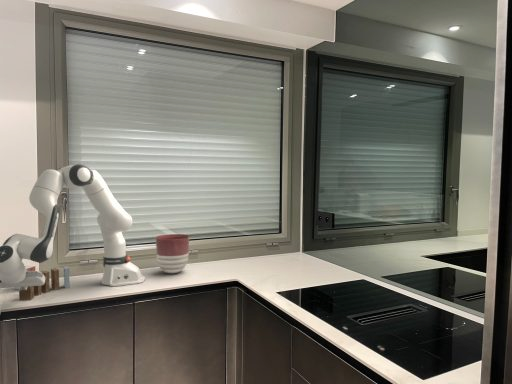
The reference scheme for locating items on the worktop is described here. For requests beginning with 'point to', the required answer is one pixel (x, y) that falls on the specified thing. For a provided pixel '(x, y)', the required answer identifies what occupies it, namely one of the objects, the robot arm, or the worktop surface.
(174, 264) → the planter
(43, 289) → the domino
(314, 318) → the worktop surface
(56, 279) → the domino
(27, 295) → the domino
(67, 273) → the domino
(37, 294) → the domino
